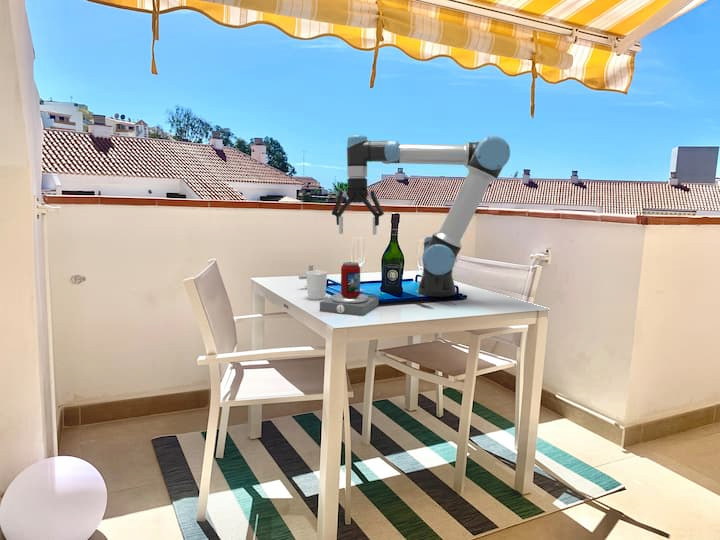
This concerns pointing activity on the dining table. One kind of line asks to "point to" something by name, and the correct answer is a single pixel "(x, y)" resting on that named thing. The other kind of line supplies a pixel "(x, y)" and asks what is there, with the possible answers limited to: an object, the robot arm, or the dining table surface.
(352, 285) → the beverage can
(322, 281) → the white cup
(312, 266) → the pipe connector
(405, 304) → the dining table surface
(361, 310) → the scale
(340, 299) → the platter
